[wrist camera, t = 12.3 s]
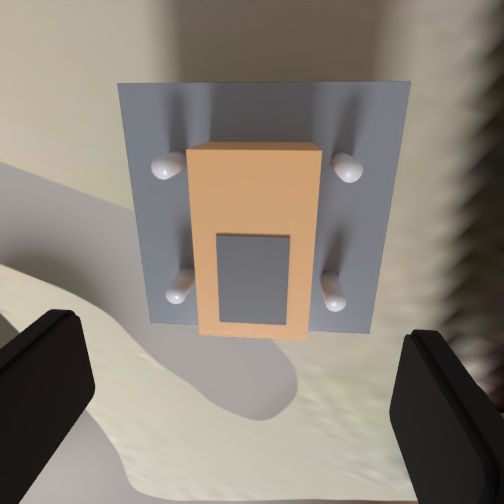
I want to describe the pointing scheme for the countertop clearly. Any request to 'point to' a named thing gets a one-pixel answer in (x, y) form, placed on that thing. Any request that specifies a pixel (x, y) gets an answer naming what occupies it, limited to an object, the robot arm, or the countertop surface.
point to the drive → (254, 236)
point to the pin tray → (268, 130)
